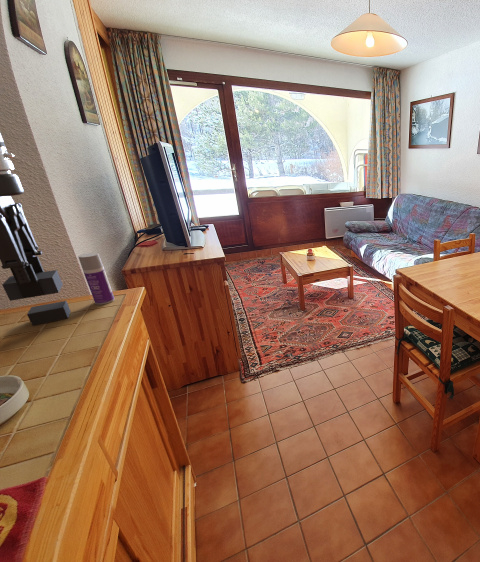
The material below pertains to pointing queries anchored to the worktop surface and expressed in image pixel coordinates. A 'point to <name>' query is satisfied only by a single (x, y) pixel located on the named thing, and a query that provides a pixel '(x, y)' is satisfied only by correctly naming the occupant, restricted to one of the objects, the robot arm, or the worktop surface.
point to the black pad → (49, 313)
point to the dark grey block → (47, 281)
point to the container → (96, 278)
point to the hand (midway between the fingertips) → (37, 291)
